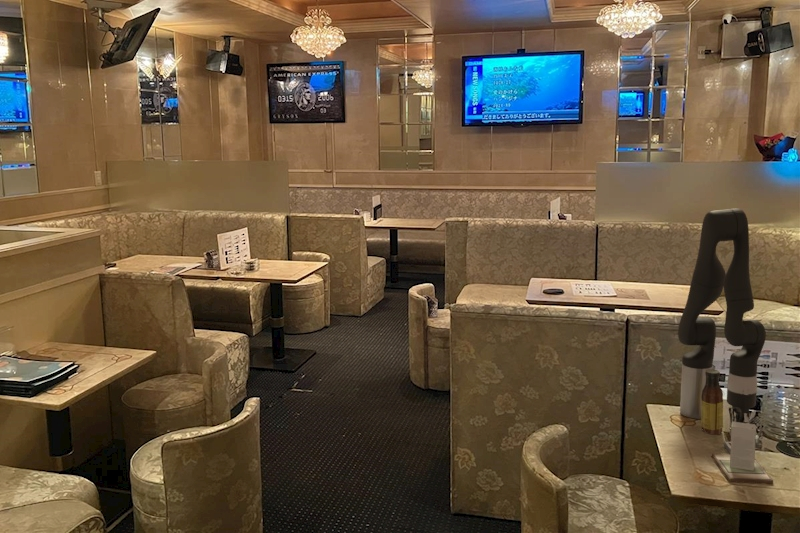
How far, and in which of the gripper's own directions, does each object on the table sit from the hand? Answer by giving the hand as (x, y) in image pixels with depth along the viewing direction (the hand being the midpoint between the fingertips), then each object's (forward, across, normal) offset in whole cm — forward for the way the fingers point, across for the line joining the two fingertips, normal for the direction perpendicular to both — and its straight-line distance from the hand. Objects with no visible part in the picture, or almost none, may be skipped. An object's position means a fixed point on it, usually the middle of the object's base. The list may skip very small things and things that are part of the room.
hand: (738, 445), depth 194 cm
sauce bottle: (+2, -15, -3) cm, 16 cm away
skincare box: (+1, +11, -3) cm, 12 cm away
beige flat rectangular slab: (+2, +11, -3) cm, 12 cm away
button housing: (+2, 0, 0) cm, 2 cm away
